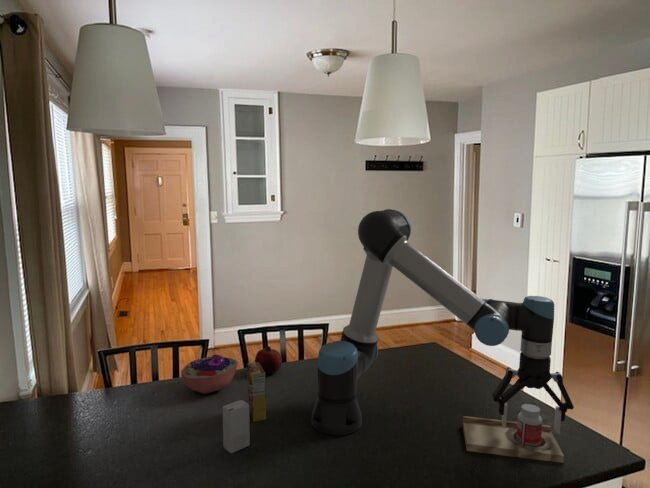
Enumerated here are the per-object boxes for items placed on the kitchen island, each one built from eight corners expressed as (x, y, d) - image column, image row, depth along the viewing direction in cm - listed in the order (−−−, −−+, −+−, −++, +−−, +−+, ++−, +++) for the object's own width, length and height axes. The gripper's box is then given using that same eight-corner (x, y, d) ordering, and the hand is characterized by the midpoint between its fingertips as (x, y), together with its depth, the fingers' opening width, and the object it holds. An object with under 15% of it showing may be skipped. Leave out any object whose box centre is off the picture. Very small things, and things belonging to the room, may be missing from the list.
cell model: (170, 391, 155) (169, 359, 154) (219, 373, 170) (218, 344, 169) (199, 407, 144) (198, 373, 143) (248, 386, 159) (247, 356, 158)
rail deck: (466, 450, 122) (467, 439, 121) (462, 426, 135) (463, 415, 134) (563, 462, 117) (564, 451, 117) (549, 436, 130) (550, 425, 129)
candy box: (247, 408, 143) (246, 362, 142) (260, 406, 145) (260, 361, 143) (252, 422, 135) (251, 373, 133) (266, 420, 137) (266, 372, 135)
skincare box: (241, 439, 126) (241, 398, 125) (250, 446, 123) (250, 404, 121) (222, 447, 122) (221, 405, 120) (231, 455, 119) (230, 411, 117)
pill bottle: (544, 447, 124) (547, 409, 123) (532, 454, 120) (535, 415, 119) (523, 437, 129) (526, 400, 128) (511, 443, 125) (513, 406, 124)
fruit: (249, 371, 172) (249, 346, 171) (270, 365, 179) (270, 340, 178) (265, 380, 164) (265, 354, 163) (287, 373, 171) (287, 347, 170)
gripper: (488, 355, 120) (484, 429, 123) (591, 363, 115) (584, 441, 118) (484, 345, 128) (480, 416, 130) (581, 353, 122) (575, 426, 125)
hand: (529, 428), depth 124 cm, fingers open, 13 cm apart
